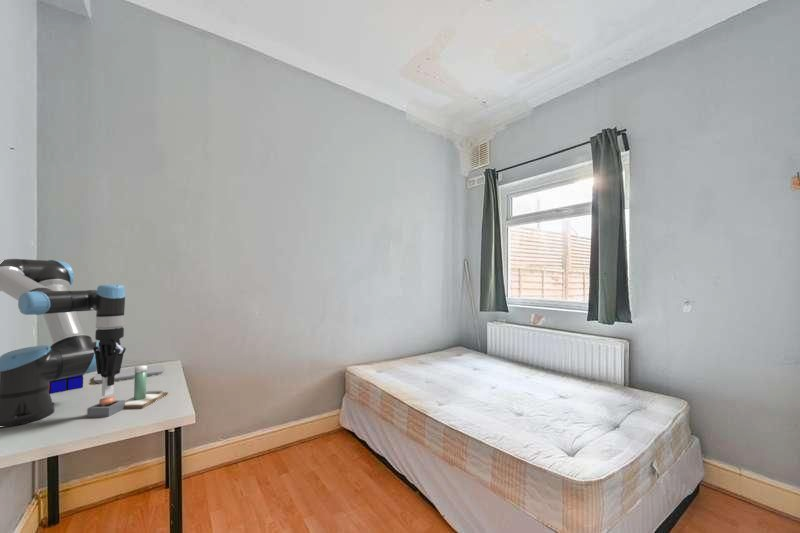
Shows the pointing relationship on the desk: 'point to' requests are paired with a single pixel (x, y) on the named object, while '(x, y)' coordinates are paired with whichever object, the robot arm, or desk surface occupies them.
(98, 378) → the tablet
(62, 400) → the desk surface
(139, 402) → the open book
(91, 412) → the button box
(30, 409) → the robot arm
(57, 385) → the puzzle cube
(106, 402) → the button
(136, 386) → the green bottle
